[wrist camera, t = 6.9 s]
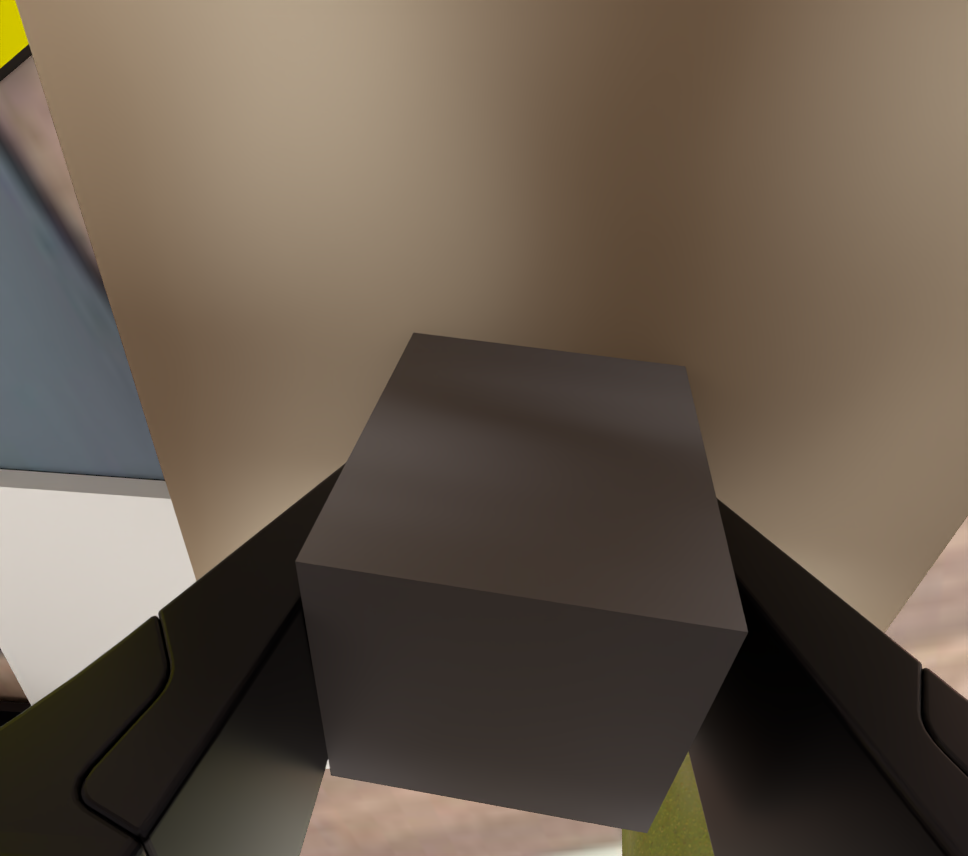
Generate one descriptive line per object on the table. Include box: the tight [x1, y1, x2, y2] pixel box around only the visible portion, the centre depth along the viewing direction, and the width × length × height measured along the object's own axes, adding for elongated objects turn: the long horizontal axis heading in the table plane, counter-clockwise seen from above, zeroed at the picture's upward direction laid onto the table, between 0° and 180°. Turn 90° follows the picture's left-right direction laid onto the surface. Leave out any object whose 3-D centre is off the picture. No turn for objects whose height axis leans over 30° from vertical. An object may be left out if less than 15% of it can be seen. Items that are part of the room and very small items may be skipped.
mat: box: [0, 469, 330, 769], centre depth 22 cm, size 14×14×1 cm
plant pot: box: [622, 752, 714, 856], centre depth 21 cm, size 9×9×9 cm
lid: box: [15, 0, 968, 833], centre depth 8 cm, size 12×12×5 cm
